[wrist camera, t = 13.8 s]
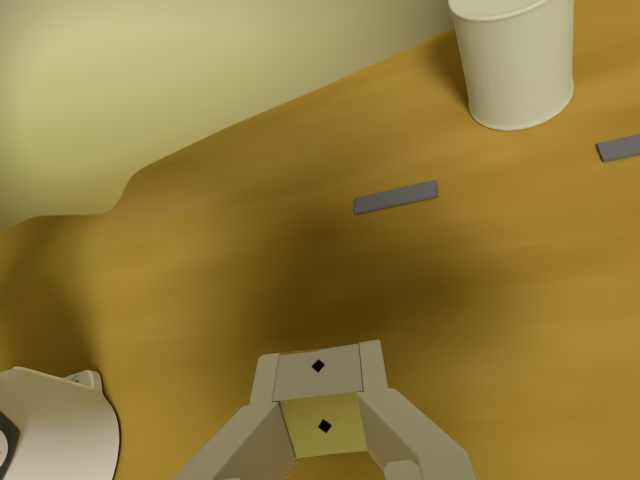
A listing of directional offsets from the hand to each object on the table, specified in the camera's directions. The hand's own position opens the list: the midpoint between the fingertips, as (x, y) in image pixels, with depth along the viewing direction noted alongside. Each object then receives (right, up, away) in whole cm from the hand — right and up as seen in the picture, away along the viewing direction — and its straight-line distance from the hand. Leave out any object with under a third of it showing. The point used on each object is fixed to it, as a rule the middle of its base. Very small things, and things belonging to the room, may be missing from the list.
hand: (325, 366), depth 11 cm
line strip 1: (+7, +7, +31) cm, 32 cm away
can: (+19, +17, +31) cm, 40 cm away
